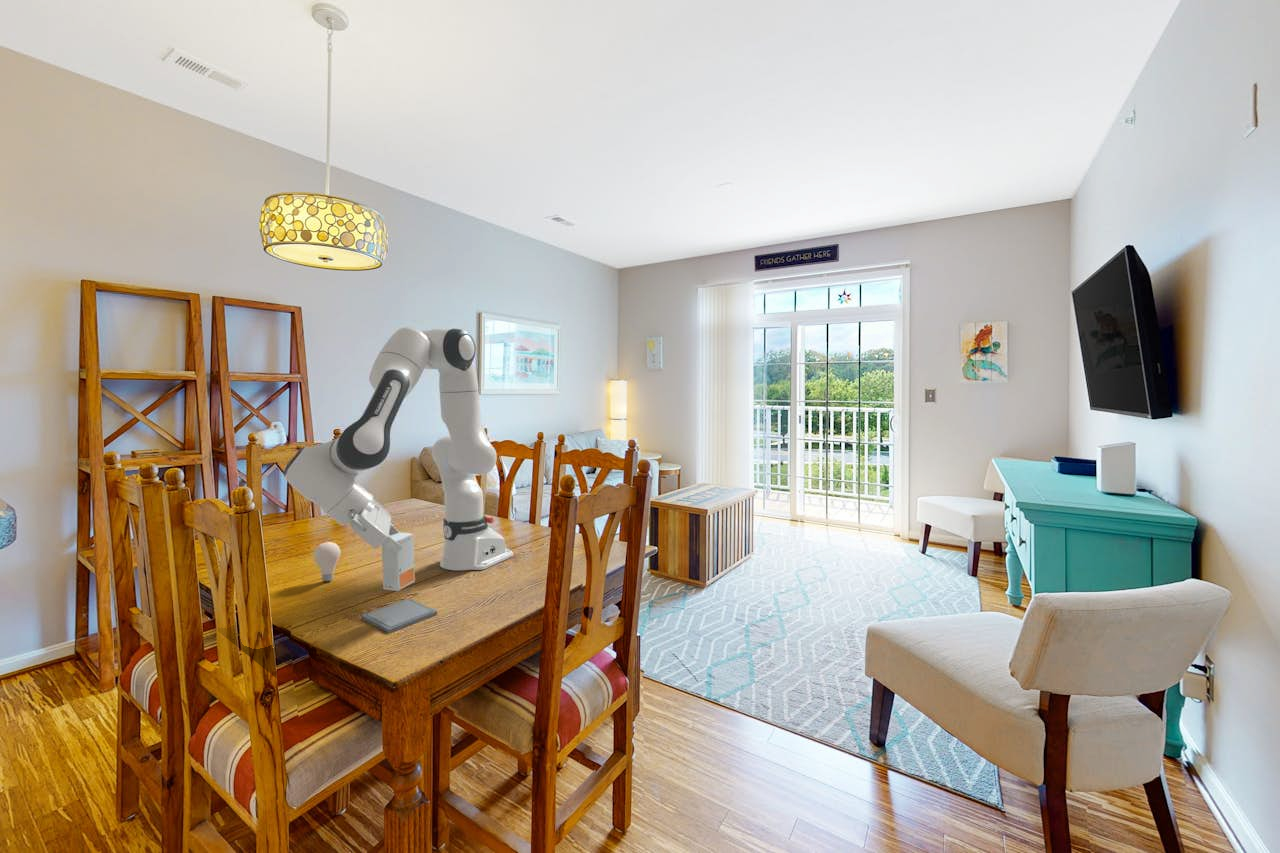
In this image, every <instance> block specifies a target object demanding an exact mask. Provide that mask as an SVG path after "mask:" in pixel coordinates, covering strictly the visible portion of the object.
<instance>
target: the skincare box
mask: <svg viewBox="0 0 1280 853" xmlns="http://www.w3.org/2000/svg"><path fill="white" fill-rule="evenodd" d="M414 536H415V534H414V533H410V532H409V533H408V532H400V531H399V533H397V534H394V535H391V537H392V538H393V539H394V540H396V541H398V542H399V543H400V544H402V546H403V548H402V549H401V550H400V551H399V552H398V553H396V552H395V551H394V550H392V549H390V548H388V547H386V546H384V545H383V544H382V545H381V557H382V558H381V559H382V563H381V564H382V587H383V590H386V591H387V590H389V591H394V592H395V591H396V592H399V591H401V590H403V589H404V588H406V587H408V586H410V585H411V584H414V583H416V582H415V581H416V576H415V574H416V573H415V570H416V569H415V544H414V543H415V540H414Z"/></svg>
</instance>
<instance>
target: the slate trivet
mask: <svg viewBox="0 0 1280 853" xmlns="http://www.w3.org/2000/svg"><path fill="white" fill-rule="evenodd" d="M436 615H438V610H436V609H434V608H432V607H430V606H427V605H424V604H422V603H420V602H418V601H416V600H414V599H412V598H406V599H403V600H401V601H398V602H395V603H393V604H390V605H386V606H384V607H381V608H378V609H375V610H372V611H369V612H366V613H363V614H361V617H360V618H361V619H362V620H363V621H365V622H368V623H369V624H371V625H373V626H375V627H377V628H378V629H380V630H382V631H384V632H385V633H388V634H391V633H393V632H396V631H398V630H400V629H403V628H406V627H408V626H410V625H413V624H417V623H419V622H421V621H423V620H425V619H429V618H431V617H435V616H436Z"/></svg>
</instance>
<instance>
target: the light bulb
mask: <svg viewBox="0 0 1280 853" xmlns="http://www.w3.org/2000/svg"><path fill="white" fill-rule="evenodd" d="M341 554H342V552H341V548H340V546H339V545H338V544H337V543H335V542H331V541H327V542H323V543H320V544H318V545H317V547H315V549H314V551H313V555H312V557H313V560H314V562H315V564H316V565H317V566H318V568H319V570H320V574H321V580H322V581H323V582H331V581H332V580H334V572H335V570H336V565H337V563H338V561H339V560H340V557H341Z"/></svg>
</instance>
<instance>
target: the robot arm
mask: <svg viewBox="0 0 1280 853" xmlns="http://www.w3.org/2000/svg"><path fill="white" fill-rule="evenodd" d="M476 349H477V348H476V344H475V340H474V339H473V337H472V335H471V334H470V333H469V332H468V331H466V330H463V329H461V328H451V329H450V328H449V329H448V328H432V329H427V330H419V329H417V328H414V327H410V326H409V327H408V326H407V327H406V326H405V327H401V328H399V329H398V330H396V331H395V332H394V333H393V334H392V335H391V336H390V337H389V338H388V339H387V341H386V342H385V344H384V345H383V347H382V348H381V349H380V351H379V353H378V355H377V356H376V358H375V360H374V362H373V364H372V367H371V370H370V373H369V375H368V376H369V378H368V381H369V383H370V385H371V386H372V388H373V389H374V390H373V393H372V395H371V398H370V399H369V402H368V404H367V406H366V407H365V409H364V411H363V412H362V415H361V417H360V418H359V419H358V420H356V421H355V422H353V423H352V424H350V425H348V426H347V427H346V428H345V429H344V430H343V432H342V433H341V434H340V435H339V437H337V438H334V439H332V440H329V441H327V442H323V443H319V444H316V445H312V446H311V445H310V446H304V447H301V448H299V450H298V451H297V452H296V453H295V454H294V456H292V457H291V459H290V460H289V462H288V463H287V465H286V466H284V469H283V470H284V471H283V477H284V478H285V480H286V481H287V483H288V484H289V485H290V486H291V487H292V488H293V489H294V490H296V492H297V493H299V494H300V495H302V496H303V497H304V498H305V499H307V500H308V501H310V502H312V503H315V504H316V505H318V506H319V507H320V508H321V510H322V511H323V512H324V513H325V514H326V515H328V516H329V517H330V518H331V519H333V520H334V521H335V522H336V523H338V524H339V525H340V526H342V527H345V526H347V525H348V524H349V526H350V528H351V530H352V531H353V532H354V533H355V534H356V535H358V536H359V537H360V538H361V539H362V540H363V541H364V542H366V543H367V544H368V545H370V546H371V547H372V548H375V549H379V548H380V547H382V544H383V545H384V546H386V547H388V548H390V549H392V550H394V551H395V552H396V553H398V552H399V551H400V550H401V549H402V548H403V546H402V544H400V543H399V542H398V541H396V540H394V539H393V538H392V537H391V535H394V534H397V533H399V532H400V531H399V530H398V529H397V528H396V526H395V525H394V524H392V515H391V514H390V512H389V511H388V510H387V509H386V508H385V507H383V505H382V504H380V503H379V502H378V501H377V500H376V499H375V498H374V495H373V494H372V492H371V491H370V490H368V489H367V488H364V487H363V486H362V485H360V484H359V483H358V482H357V481H356V478H357V476H360V475H361V474H363V473H365V472H366V471H368V470H370V469H371V468H375V467H376V466H378V465H380V464H381V463H383V462H384V460H386V458H387V457H388V454H389V452H390V448H391V429H392V425H393V423H394V421H395V419H396V417H397V414H398V412H399V411H400V407H401V406H402V403H403V401H404V400H405V399H406V398H407V397H408V396H409V394H410V393H411V392H412V391H413V390H414V388H415V387H416V385H417V384H418V382H419V381H420V377H421V376H422V374H423V372H424V370H437V371H438V373H439V375H438V376H439V378H438V379H439V381H438V383H439V384H438V388H439V403H440V404H439V405H440V415H441V416H440V417H441V420H442V422H443V423H444V424H445V425H446V426H445V427H446V428H447V431H448V433H449V434H448V435H447V436H443V437H441V438H439V439H438V440H437V441H436V442H435V443H434V444H433V446H432V449H431V456H432V460H433V462H435V464H436V466H437V469H438V474H439V476H440V481H441V483H442V484H441V486H442V489H443V496H444V518H443V529H442V530H443V537H444V540H443V541H444V542H443V550H442V555H441V559H440V563H439V567H440V568H442V569H444V570H449V571H470V570H471V571H472V570H475V571H481V570H482V571H483V570H486V569H489V568H490V567H493V566H495V565H497V564H500V563H501V562H503V561H505V560H507V559H510V558H512V557H514V552H513V551H512V550H511V549H509V548H507V546H506V542H505V541H506V540H505V538H504V537H503V535H502V534H499V533H498V532H497V531H495V530H493V529H492V528H491V527H489V525H488V524H494V522H495V518H494V517H493V516H489V515H488V516H485V515H484V501H483V500H484V497H483V496H484V493H483V490H482V488H481V486H480V485H479V482H478V480H477V477H476V476H482V475H487V474H489V473H490V472H491V471H493V469H494V468H495V466H496V464H497V461H498V460H497V458H498V455H497V451H496V449H495V447H494V446H493V444H491V442H490V440H489V438H488V435H487V433H486V429H485V427H484V425H483V424H484V423H483V421H482V415H481V406H480V405H481V404H480V395H479V394H480V393H479V382H478V375H477V372H476V367H475V362H474V359H475V357H476V356H475V355H476Z"/></svg>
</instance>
